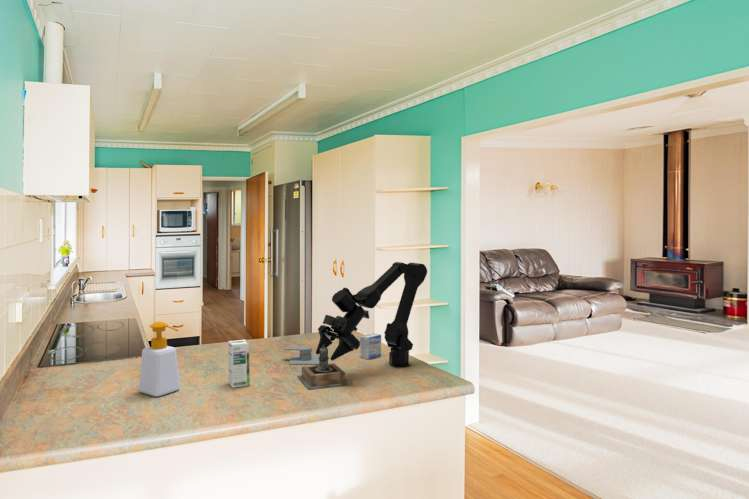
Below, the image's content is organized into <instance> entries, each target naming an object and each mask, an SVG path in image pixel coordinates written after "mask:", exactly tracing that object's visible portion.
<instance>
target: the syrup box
mask: <svg viewBox="0 0 749 499" xmlns="http://www.w3.org/2000/svg"><path fill="white" fill-rule="evenodd" d="M227 352H228V353H227V356H228V357H227V362H228V364H227V366H228V368H227V369H228V384H229V385H230V387H231V388H233V389H234V388H239V387H240V388H242V387H249V386H250V379H251V378H250V342H249V341H248V340H247V339H240V340H239V339H238V340H228V342H227Z"/></svg>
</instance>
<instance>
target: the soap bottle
mask: <svg viewBox="0 0 749 499" xmlns="http://www.w3.org/2000/svg"><path fill="white" fill-rule="evenodd" d="M149 328H151V330H152V332H153V333H155V334H156V335H155V337H153V338H151V339H150V341H151V343H150V344H151V346H150V347H149V346H148V347H144V348H143V349H142V351H141V360H140V373H139V381H138V382H139V384H138V391H139V392H140V393H142V394H146V395H149V396H152V397H162V396H163V395H166V394H170V393H173V392H176V391H179V390H180V388H181V380H180V379H181V378H180V371H179V363H178V353H177V349H176V347H173V346H170V345H168V339H167V337H165V336H164V337H163V335H162V333H163V332H165V331H166V328H169V329H172V330H173V331H175V332H179V330H178V328H175V327H172V326H170V325H169V324H167V323H166V322H164V321H155V322H153V323H152V324H150V325H149Z"/></svg>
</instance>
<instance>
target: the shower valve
mask: <svg viewBox="0 0 749 499" xmlns="http://www.w3.org/2000/svg"><path fill="white" fill-rule="evenodd" d="M283 350H285V351H299V354H293V355H292V356H291V358H290V359H289V362H288V365H289V366H312V365H319V359H318V358H319V357H320V354H318V355H317V354H312V352H313V348H312V346H284V348H283Z"/></svg>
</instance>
